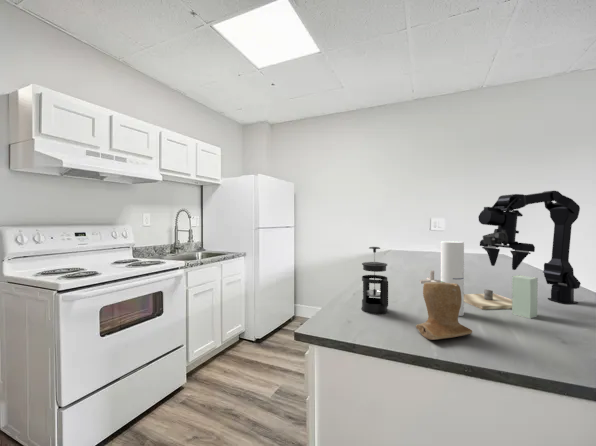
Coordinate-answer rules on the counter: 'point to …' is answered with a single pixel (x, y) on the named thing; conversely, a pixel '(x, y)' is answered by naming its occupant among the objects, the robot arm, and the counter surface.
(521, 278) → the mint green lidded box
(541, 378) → the counter surface
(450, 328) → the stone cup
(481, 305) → the post base
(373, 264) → the french press
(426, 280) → the beige crossed rods
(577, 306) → the counter surface
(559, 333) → the counter surface
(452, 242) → the cylindrical container
